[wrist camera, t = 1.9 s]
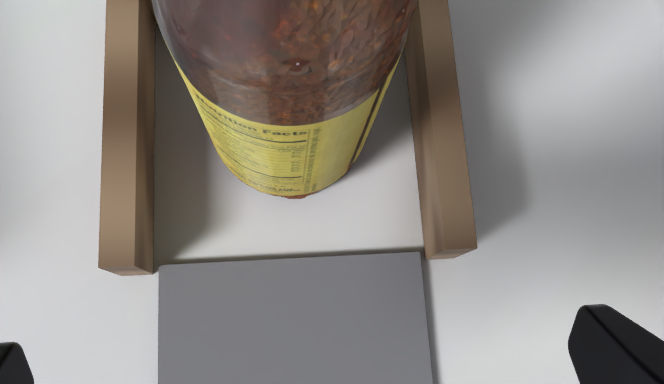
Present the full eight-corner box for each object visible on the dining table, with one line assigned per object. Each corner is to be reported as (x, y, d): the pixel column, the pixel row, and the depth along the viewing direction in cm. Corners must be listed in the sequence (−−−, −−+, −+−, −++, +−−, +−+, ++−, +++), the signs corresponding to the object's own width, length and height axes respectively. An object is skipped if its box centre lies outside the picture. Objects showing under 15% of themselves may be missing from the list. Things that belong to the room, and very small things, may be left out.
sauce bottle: (284, 40, 26) (293, -835, 6) (390, 131, 25) (754, -532, 6) (178, 143, 24) (-230, -599, 5) (289, 243, 24) (325, -154, 4)
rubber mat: (442, 506, 22) (445, 510, 21) (159, 534, 21) (156, 538, 20) (417, 253, 24) (420, 251, 23) (160, 266, 23) (158, 265, 22)
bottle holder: (453, 258, 24) (477, 248, 21) (121, 275, 23) (98, 267, 20) (424, -5, 27) (442, -45, 24) (127, -2, 25) (107, -45, 23)
